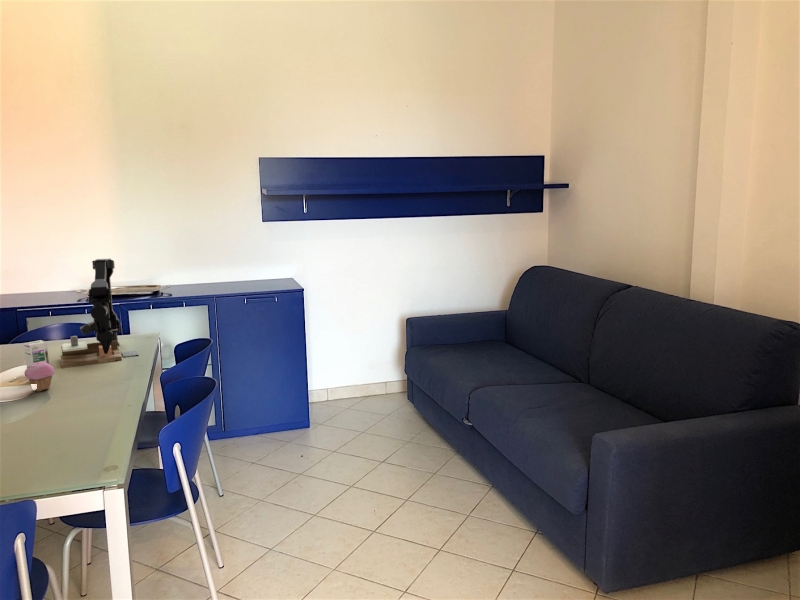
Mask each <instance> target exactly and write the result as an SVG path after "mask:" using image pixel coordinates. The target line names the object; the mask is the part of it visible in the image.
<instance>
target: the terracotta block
mask: <svg viewBox="0 0 800 600" xmlns="http://www.w3.org/2000/svg"><path fill="white" fill-rule="evenodd" d="M99 354H100V356H109V355H112V350H111V345H110V348H109V351H108V353H107V354H104V351H103V347H102V346H99Z"/></svg>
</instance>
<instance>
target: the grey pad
mask: <svg viewBox="0 0 800 600" xmlns="http://www.w3.org/2000/svg"><path fill="white" fill-rule="evenodd" d="M121 354H123V355H122V358H129V357H128V356H132V357H136V356H135V355H139V356H140V353H139V352H138V350H130V351H121Z"/></svg>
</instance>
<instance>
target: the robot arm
mask: <svg viewBox="0 0 800 600" xmlns="http://www.w3.org/2000/svg"><path fill="white" fill-rule="evenodd" d="M91 263H92V270H94V273H95V275H94V281H92V282H91V284H90V288H89V289H88V304H90V305H92V304H93V305H92V306H93V307H92V308H91V310H90V316H91V317H92V319H93V321H91V322H88V323H85V324H83V325H82V326H81V325H80V327H79V329H80V332H81V334H82V336H87V335H88V334H90V333H92V332H94V335H95V338H96V339H95V340H96V341H97V342H101V344H102V347H103V351H104V354H107V353H108V351H109V348H110V345H111V342H112V341H115V340H117V345H118V346H120V342H119V339H118V333H120V332H122V331H123V330H122V329H123V328H122V322H121V321H120V318H118V315H117V313H116V312H115V311H114V309H113V297H112V295H113V294H112V293H113V292H112V286H111V285H112V284H111V277H112V276H113V273H114V270H115V261H114V260H113V259H112V258H96V259H95V260H92V261H91Z"/></svg>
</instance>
